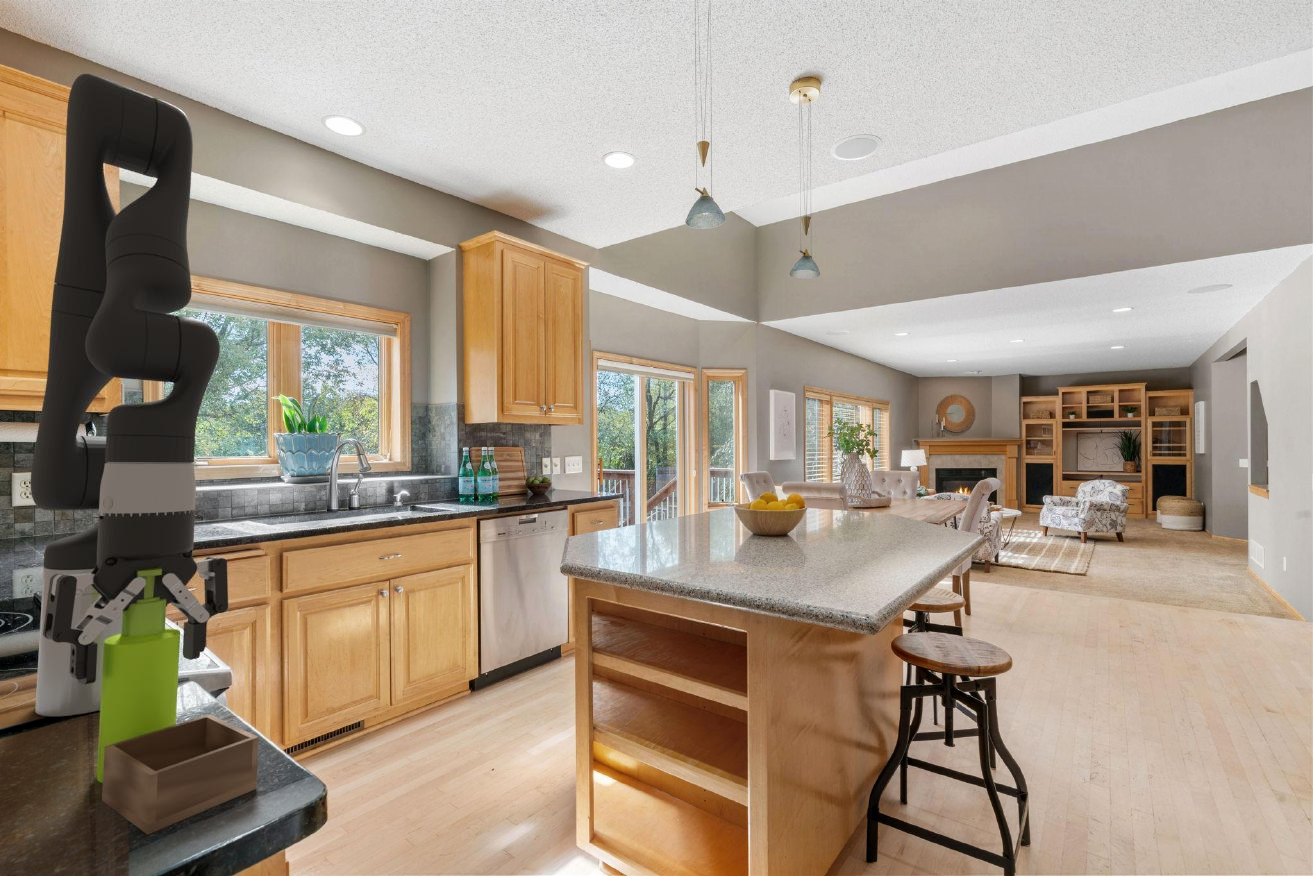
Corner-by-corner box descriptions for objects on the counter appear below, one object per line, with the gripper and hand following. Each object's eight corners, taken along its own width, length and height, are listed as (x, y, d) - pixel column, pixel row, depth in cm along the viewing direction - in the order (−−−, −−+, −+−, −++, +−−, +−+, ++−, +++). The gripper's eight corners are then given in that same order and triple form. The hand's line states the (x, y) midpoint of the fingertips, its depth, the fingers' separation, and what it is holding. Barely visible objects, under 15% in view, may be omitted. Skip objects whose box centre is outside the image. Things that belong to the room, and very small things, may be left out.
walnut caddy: (101, 800, 55) (104, 746, 56) (207, 762, 63) (209, 714, 63) (147, 834, 51) (150, 775, 51) (256, 788, 58) (258, 737, 58)
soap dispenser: (163, 746, 66) (172, 558, 66) (181, 767, 61) (190, 566, 62) (89, 766, 61) (100, 565, 62) (103, 791, 57) (114, 574, 58)
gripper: (210, 502, 70) (204, 646, 70) (39, 510, 58) (30, 684, 57) (244, 505, 66) (238, 657, 66) (69, 513, 54) (59, 700, 53)
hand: (141, 669), depth 61 cm, fingers open, 8 cm apart
